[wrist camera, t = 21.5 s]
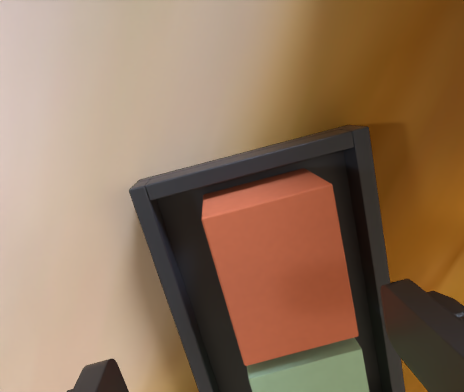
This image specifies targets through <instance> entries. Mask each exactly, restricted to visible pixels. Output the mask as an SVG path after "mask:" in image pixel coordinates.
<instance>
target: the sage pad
mask: <svg viewBox="0 0 464 392" xmlns="http://www.w3.org/2000/svg"><path fill="white" fill-rule="evenodd" d="M247 372H248V378H249V382H250V386H251V389H252V392H369V387H368V381H367V375H366V370H365V364H364V358H363V353H362V349H361V347H360V346H359V344H358V342H357V341H356V339H355V338H350V339H346V340H343V341H339V342H335V343H331V344H328V345H324V346H320V347H316V348H312V349H309V350H305V351H301V352H297V353H294V354H290V355H286V356H282V357H279V358H275V359H271V360H267V361H263V362H260V363H256V364H252V365H248V366H247Z"/></svg>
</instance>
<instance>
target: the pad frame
mask: <svg viewBox="0 0 464 392" xmlns="http://www.w3.org/2000/svg"><path fill="white" fill-rule="evenodd" d="M302 168H305V169H307V170H308V171H310V172H312V173H313V174H315V175H317V176H319V177H320V178H322V179H324V180H326V181H327V182H329V183H331V184H332V185H333V191H334V197H335V202H336V208H337V214H338V219H339V225H340V231H341V237H342V242H343V248H344V254H345V259H346V265H347V271H348V276H349V282H350V288H351V294H352V299H353V305H354V311H355V316H356V322H357V328H358V333H359V336H358V337H354V338H355V339H356V341H357V342H358V344H359V346H360V347H361V349H362V353H363V358H364V364H365V370H366V375H367V381H368V387H369V392H405V386H404V379H403V372H402V364H401V357H400V356H399V355H398V354H397V352H396V351H395V350H394V348H393V346H392V344H391V342H390V340H389V338H388V335H387V332H386V327H385V320H384V313H383V306H382V299H381V292H380V289H381V286H382V285H385V284H389V283H390V278H389V271H388V264H387V256H386V249H385V242H384V235H383V227H382V220H381V213H380V206H379V199H378V191H377V184H376V177H375V170H374V163H373V155H372V148H371V141H370V134H369V127H366V126H353V125H346V126H342V127H338V128H335V129H331V130H327V131H323V132H319V133H316V134H312V135H308V136H304V137H300V138H297V139H293V140H289V141H285V142H281V143H278V144H274V145H270V146H266V147H262V148H259V149H255V150H251V151H247V152H244V153H240V154H236V155H232V156H228V157H225V158H221V159H217V160H213V161H209V162H206V163H202V164H198V165H194V166H190V167H187V168H183V169H179V170H175V171H171V172H168V173H164V174H160V175H156V176H152V177H149V178H145V179H141V180H139V181H138V182H137V183H136V184H135V185H134V186H133V187H132V188H131V189H130V190H129V193H130V196H131V198H132V201H133V204H134V207H135V210H136V213H137V216H138V218H139V221H140V224H141V227H142V230H143V233H144V236H145V238H146V241H147V244H148V247H149V250H150V253H151V256H152V258H153V261H154V264H155V267H156V270H157V273H158V276H159V278H160V281H161V284H162V287H163V290H164V293H165V296H166V299H167V301H168V304H169V307H170V310H171V313H172V316H173V319H174V321H175V324H176V327H177V330H178V333H179V336H180V339H181V341H182V344H183V347H184V350H185V353H186V356H187V359H188V361H189V364H190V367H191V370H192V373H193V376H194V379H195V381H196V384H197V387H198V390H199V392H252V389H251V386H250V382H249V378H248V372H247V366H245V365H244V363H243V359H242V356H241V352H240V349H239V346H238V342H237V339H236V335H235V332H234V329H233V325H232V322H231V318H230V315H229V312H228V308H227V305H226V301H225V298H224V295H223V291H222V288H221V284H220V281H219V278H218V274H217V271H216V268H215V264H214V261H213V257H212V254H211V251H210V247H209V244H208V240H207V237H206V234H205V230H204V227H203V223H202V206H203V195H204V194H207V193H211V192H215V191H219V190H223V189H226V188H230V187H234V186H238V185H242V184H245V183H249V182H253V181H257V180H261V179H264V178H268V177H272V176H276V175H280V174H283V173H287V172H291V171H295V170H299V169H302Z"/></svg>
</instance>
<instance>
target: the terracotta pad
mask: <svg viewBox="0 0 464 392" xmlns="http://www.w3.org/2000/svg"><path fill="white" fill-rule="evenodd" d="M202 223H203V227H204V230H205V234H206V237H207V240H208V244H209V247H210V251H211V254H212V257H213V261H214V264H215V268H216V271H217V274H218V278H219V281H220V284H221V288H222V291H223V295H224V298H225V301H226V305H227V308H228V312H229V315H230V318H231V322H232V325H233V329H234V332H235V335H236V339H237V342H238V346H239V349H240V352H241V356H242V359H243V363H244V365H245V366H248V365H252V364H256V363H260V362H263V361H267V360H271V359H275V358H279V357H282V356H286V355H290V354H294V353H297V352H301V351H305V350H309V349H312V348H316V347H320V346H324V345H328V344H331V343H335V342H339V341H343V340H346V339H350V338H354V337H358V336H359V333H358V328H357V322H356V316H355V311H354V305H353V299H352V294H351V288H350V282H349V276H348V271H347V265H346V259H345V254H344V248H343V242H342V237H341V231H340V225H339V219H338V214H337V208H336V202H335V197H334V191H333V185H332V184H331V183H329V182H327V181H326V180H324V179H322V178H320V177H319V176H317V175H315V174H313V173H312V172H310V171H308V170H307V169H305V168H302V169H299V170H295V171H291V172H287V173H283V174H280V175H276V176H272V177H268V178H264V179H261V180H257V181H253V182H249V183H245V184H242V185H238V186H234V187H230V188H226V189H223V190H219V191H215V192H211V193H207V194H204V195H203V206H202Z"/></svg>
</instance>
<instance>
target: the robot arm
mask: <svg viewBox="0 0 464 392" xmlns="http://www.w3.org/2000/svg"><path fill="white" fill-rule="evenodd" d="M380 292H381V299H382V306H383V313H384V320H385V327H386V332H387V335H388V338H389V340H390V342H391V344H392V346H393V348H394V350H395V351H396V352H397V354H398V355H399V356H400V357H401V359H402V360H403V361H404V362H405V364H406V365H407V366H408V367H409V368H410V370H411V371H412V372H413V373H414V375H415V376H416V377H417V378H418V379H419V381H420V382H421V383H422V384H423V386H424V387H425V388H426V389H427V390H428V392H464V306H463V305H462V304H460V303H459V302H458V301H456V300H455V299H453V298H450V297H448V296H445V295H443V294H440V293H438V292H435V291H431V292H425V291H424V290H423V289H421V288H420V287H419V286H418V285H416V284H415V283H414V282H413V281H411V280H410V279H404V280H400V281H396V282H393V283H389V284H385V285H382V286H381V289H380ZM67 392H129V391H128V389H127V386H126V384H125V381H124V379H123V376H122V374H121V372H120V369H119V367H118V364H117V362H116V361H115V360H114V359H109V360H105V361H101V362H98V363H94V364H90V365H87V366H85V367H84V368H83V370H82V372H81V374H80V376H79V378H78V380H77V382H76V384H75V386H74V388H73V389H71V390H68V391H67Z"/></svg>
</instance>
